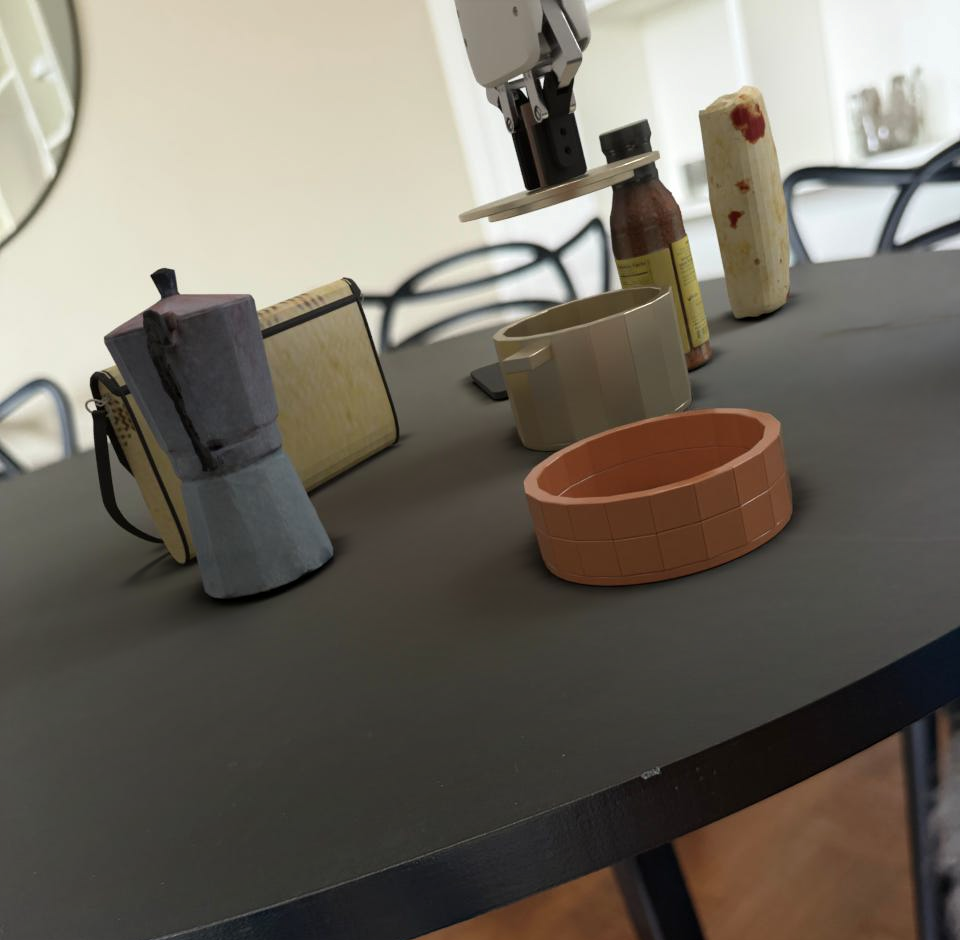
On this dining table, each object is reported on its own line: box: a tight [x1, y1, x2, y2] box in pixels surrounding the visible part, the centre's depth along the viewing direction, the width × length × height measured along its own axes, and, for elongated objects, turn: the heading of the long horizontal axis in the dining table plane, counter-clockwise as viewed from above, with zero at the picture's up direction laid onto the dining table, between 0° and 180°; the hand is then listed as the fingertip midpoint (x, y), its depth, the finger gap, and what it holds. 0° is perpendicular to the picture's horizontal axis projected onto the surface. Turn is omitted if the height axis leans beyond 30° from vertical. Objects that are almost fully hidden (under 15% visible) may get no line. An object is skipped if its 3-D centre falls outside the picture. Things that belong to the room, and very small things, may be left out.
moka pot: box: [103, 267, 334, 600], centre depth 64 cm, size 10×15×20 cm, turn 10°
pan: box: [523, 407, 794, 587], centre depth 55 cm, size 14×14×4 cm
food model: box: [698, 85, 791, 319], centre depth 97 cm, size 10×7×20 cm
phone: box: [469, 361, 509, 400], centre depth 104 cm, size 7×1×15 cm
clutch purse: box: [84, 276, 401, 566], centre depth 83 cm, size 30×7×15 cm, turn 144°
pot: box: [492, 284, 693, 452], centre depth 79 cm, size 14×19×8 cm
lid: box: [458, 102, 661, 223], centre depth 73 cm, size 15×15×7 cm
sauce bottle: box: [598, 118, 713, 372], centre depth 86 cm, size 6×6×20 cm
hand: (556, 180), depth 73 cm, fingers closed on lid, 2 cm apart
